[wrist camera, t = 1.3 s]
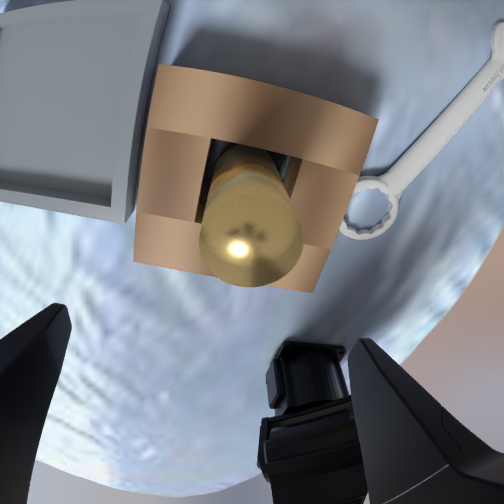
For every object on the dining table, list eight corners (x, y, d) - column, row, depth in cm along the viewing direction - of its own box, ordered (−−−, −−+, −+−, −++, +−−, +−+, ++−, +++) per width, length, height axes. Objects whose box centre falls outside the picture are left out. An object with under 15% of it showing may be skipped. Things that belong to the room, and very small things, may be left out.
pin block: (359, 112, 18) (378, 119, 15) (304, 268, 24) (312, 292, 21) (170, 66, 16) (158, 64, 13) (144, 238, 22) (133, 261, 19)
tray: (170, 6, 14) (162, -2, 12) (133, 211, 20) (124, 224, 19) (0, 18, 11) (-16, 17, 10) (-12, 187, 18) (-26, 196, 16)
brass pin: (283, 152, 19) (317, 208, 11) (267, 209, 21) (286, 293, 13) (220, 138, 18) (209, 184, 11) (208, 197, 20) (191, 277, 13)
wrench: (525, 61, 15) (499, 12, 13) (537, 63, 13) (511, 12, 11) (359, 248, 23) (315, 207, 21) (367, 258, 22) (321, 216, 20)
